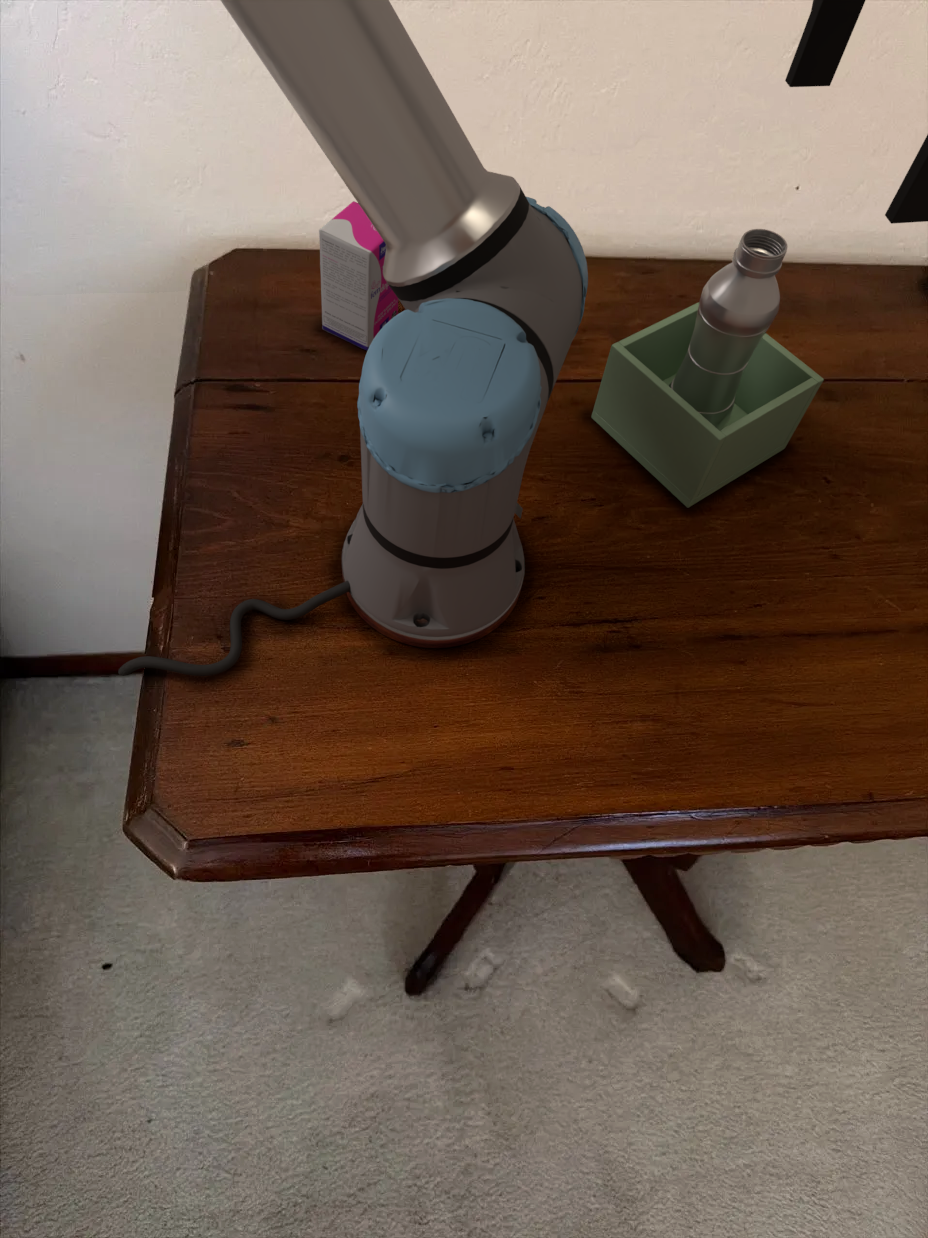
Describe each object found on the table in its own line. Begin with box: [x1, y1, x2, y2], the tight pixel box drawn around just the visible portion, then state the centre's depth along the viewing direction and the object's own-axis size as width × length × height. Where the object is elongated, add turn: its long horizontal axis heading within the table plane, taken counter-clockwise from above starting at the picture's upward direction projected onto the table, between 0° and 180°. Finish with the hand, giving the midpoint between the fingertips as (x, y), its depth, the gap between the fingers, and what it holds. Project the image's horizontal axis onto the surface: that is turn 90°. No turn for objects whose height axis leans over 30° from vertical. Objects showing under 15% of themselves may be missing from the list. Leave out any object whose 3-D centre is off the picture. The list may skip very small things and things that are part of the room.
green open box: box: [590, 302, 825, 508], centre depth 82 cm, size 14×14×9 cm
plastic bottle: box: [669, 228, 788, 431], centre depth 77 cm, size 6×7×20 cm
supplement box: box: [318, 201, 399, 351], centre depth 85 cm, size 6×6×12 cm
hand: (854, 146), depth 51 cm, fingers open, 13 cm apart
